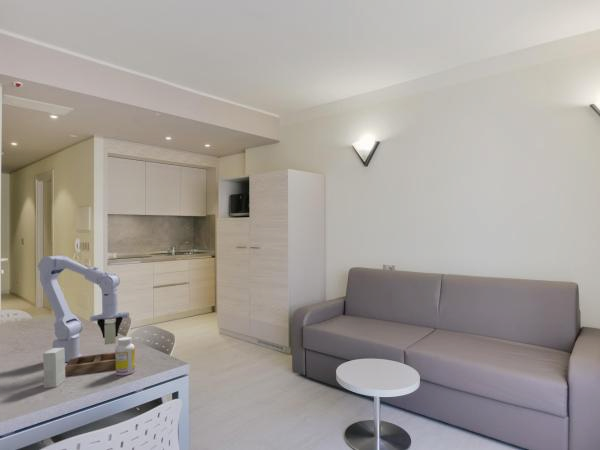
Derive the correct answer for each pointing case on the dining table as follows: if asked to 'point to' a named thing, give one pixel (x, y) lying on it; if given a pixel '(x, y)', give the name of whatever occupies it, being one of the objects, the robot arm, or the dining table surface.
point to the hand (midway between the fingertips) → (110, 336)
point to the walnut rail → (90, 364)
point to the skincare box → (54, 367)
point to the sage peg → (110, 333)
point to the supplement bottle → (125, 356)
